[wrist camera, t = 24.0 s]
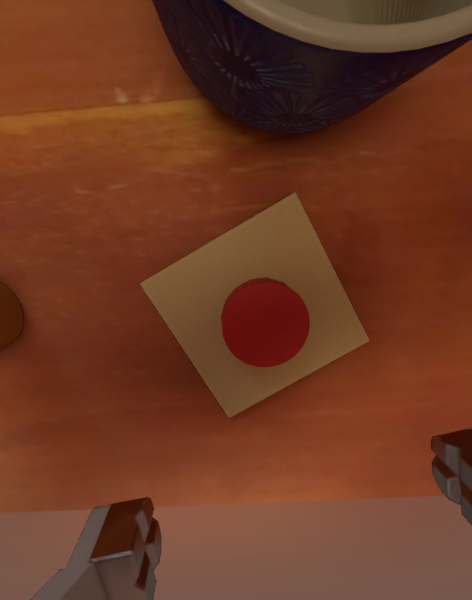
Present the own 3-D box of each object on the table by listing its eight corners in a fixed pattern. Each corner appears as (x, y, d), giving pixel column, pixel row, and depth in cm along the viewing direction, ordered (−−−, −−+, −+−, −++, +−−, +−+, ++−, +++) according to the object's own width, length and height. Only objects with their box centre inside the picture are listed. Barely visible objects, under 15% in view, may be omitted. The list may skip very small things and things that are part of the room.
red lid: (211, 344, 26) (211, 356, 24) (234, 267, 25) (236, 271, 22) (287, 364, 27) (293, 376, 24) (313, 290, 25) (322, 296, 23)
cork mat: (365, 337, 28) (369, 341, 27) (228, 413, 28) (228, 418, 28) (292, 192, 24) (295, 191, 24) (141, 282, 25) (139, 283, 24)
